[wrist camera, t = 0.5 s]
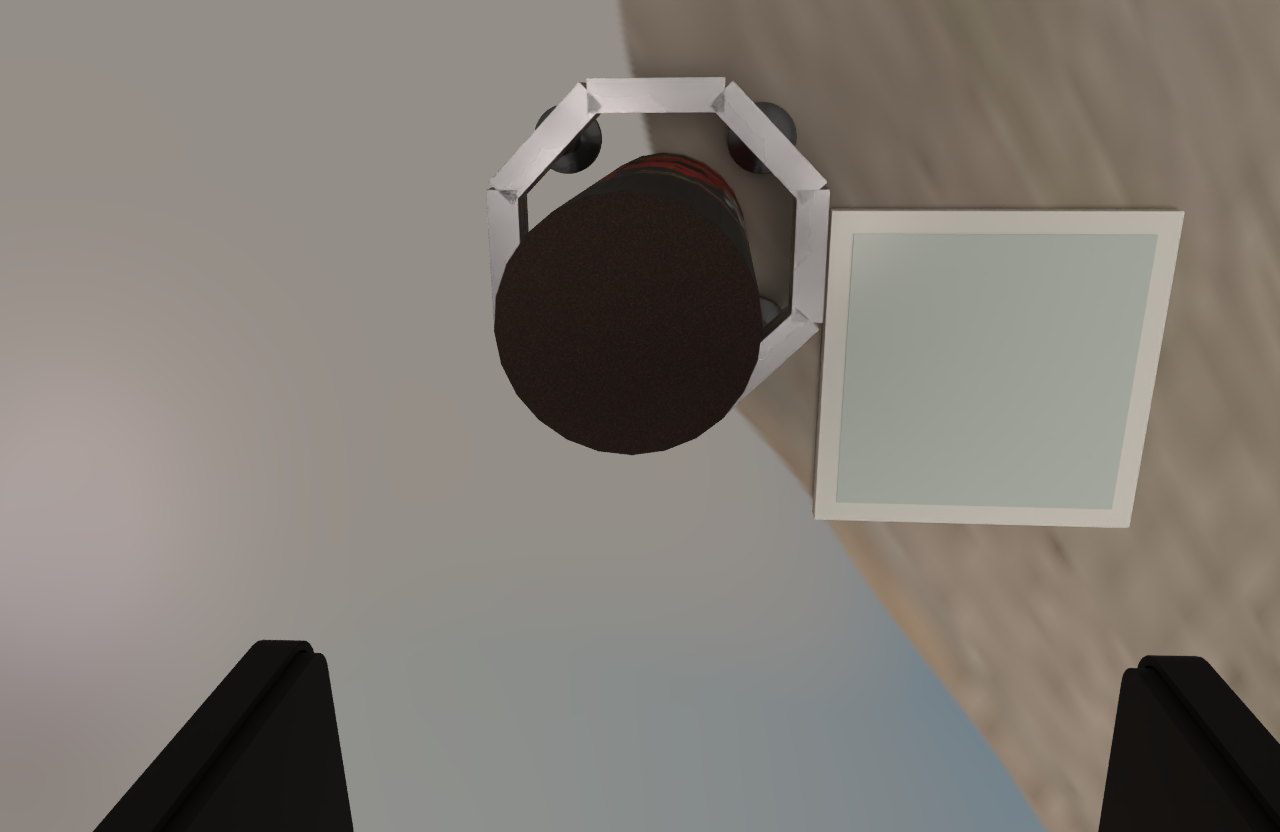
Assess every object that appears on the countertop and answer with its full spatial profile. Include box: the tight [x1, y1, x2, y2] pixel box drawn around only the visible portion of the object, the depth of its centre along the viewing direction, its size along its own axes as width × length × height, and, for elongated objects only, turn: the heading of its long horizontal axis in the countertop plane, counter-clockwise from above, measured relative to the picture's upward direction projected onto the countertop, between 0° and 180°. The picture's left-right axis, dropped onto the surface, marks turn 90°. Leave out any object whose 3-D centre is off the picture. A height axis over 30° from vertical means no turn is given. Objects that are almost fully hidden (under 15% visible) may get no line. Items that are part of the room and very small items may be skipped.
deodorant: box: [494, 153, 763, 455], centre depth 28 cm, size 6×6×15 cm
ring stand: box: [486, 77, 830, 411], centre depth 32 cm, size 11×11×5 cm
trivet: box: [813, 208, 1185, 528], centre depth 35 cm, size 12×12×1 cm
